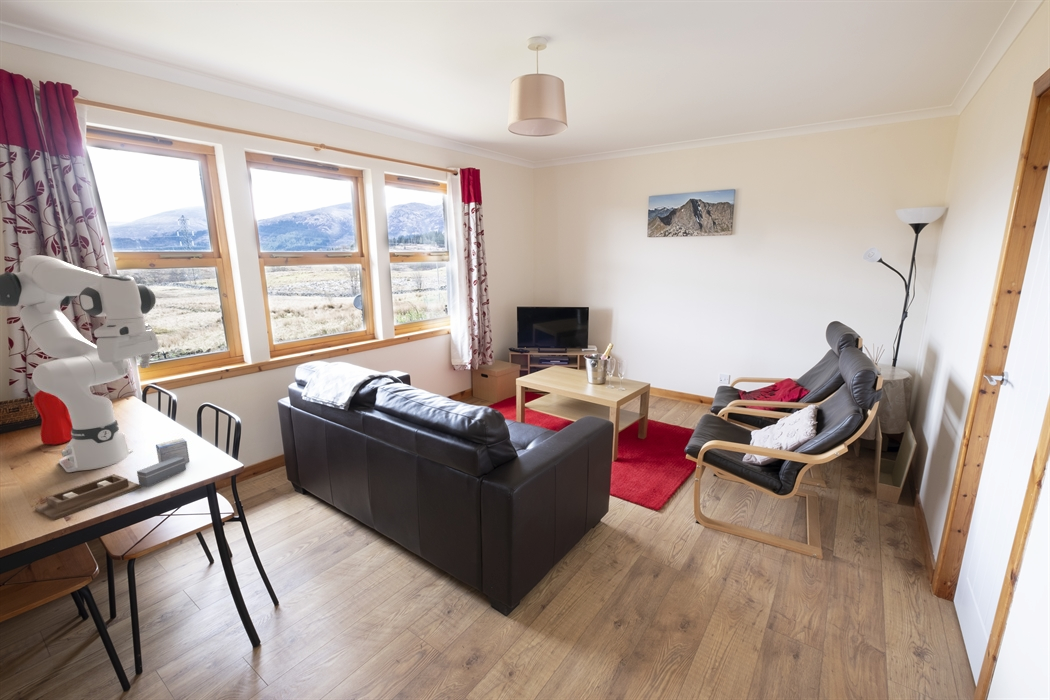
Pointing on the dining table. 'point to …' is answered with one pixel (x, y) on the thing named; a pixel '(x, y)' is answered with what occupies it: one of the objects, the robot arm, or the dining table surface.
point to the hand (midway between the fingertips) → (134, 370)
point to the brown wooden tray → (86, 496)
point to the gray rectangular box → (160, 471)
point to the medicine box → (172, 450)
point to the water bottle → (53, 418)
